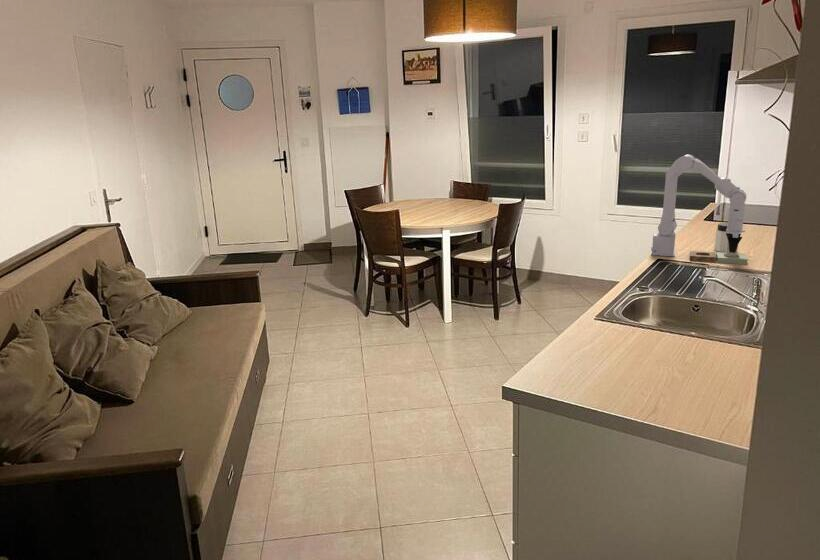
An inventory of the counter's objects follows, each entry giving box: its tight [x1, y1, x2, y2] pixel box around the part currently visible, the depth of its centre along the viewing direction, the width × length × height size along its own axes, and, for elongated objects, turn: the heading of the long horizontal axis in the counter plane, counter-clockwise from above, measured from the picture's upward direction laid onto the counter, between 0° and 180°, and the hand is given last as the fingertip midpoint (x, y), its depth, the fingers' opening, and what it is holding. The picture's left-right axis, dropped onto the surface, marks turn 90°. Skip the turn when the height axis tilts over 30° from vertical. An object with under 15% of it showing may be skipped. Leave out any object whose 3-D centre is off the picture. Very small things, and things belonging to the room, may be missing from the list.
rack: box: [715, 251, 748, 265], centre depth 259 cm, size 11×11×2 cm
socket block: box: [689, 250, 717, 263], centre depth 263 cm, size 10×10×2 cm
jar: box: [713, 222, 729, 253], centre depth 275 cm, size 9×8×12 cm
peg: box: [724, 240, 739, 257], centre depth 258 cm, size 4×4×8 cm
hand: (731, 251), depth 258 cm, fingers closed on peg, 4 cm apart
